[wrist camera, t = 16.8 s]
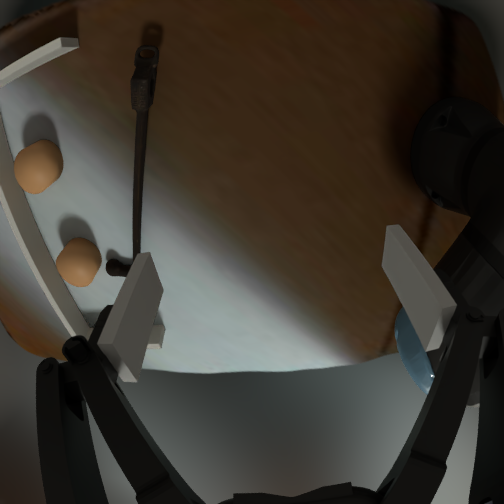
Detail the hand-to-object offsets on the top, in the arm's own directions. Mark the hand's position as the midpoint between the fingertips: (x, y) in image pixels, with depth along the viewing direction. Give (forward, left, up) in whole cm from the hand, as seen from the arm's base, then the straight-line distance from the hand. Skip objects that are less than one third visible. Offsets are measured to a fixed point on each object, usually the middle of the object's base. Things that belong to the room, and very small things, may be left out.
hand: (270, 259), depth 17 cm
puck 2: (+26, +10, -20) cm, 34 cm away
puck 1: (+26, -5, -20) cm, 33 cm away
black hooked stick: (+15, 0, -20) cm, 25 cm away
